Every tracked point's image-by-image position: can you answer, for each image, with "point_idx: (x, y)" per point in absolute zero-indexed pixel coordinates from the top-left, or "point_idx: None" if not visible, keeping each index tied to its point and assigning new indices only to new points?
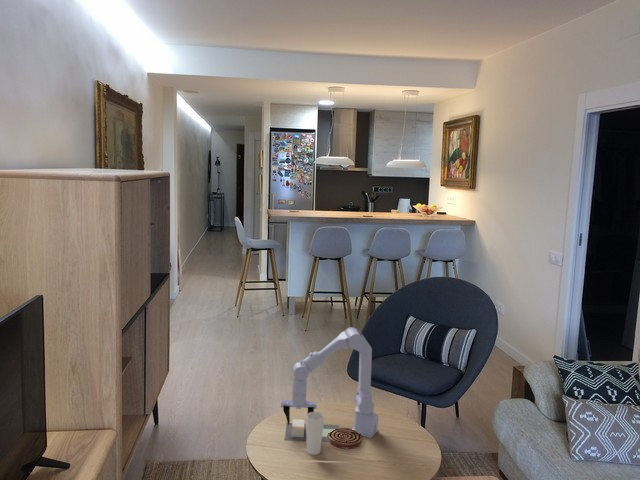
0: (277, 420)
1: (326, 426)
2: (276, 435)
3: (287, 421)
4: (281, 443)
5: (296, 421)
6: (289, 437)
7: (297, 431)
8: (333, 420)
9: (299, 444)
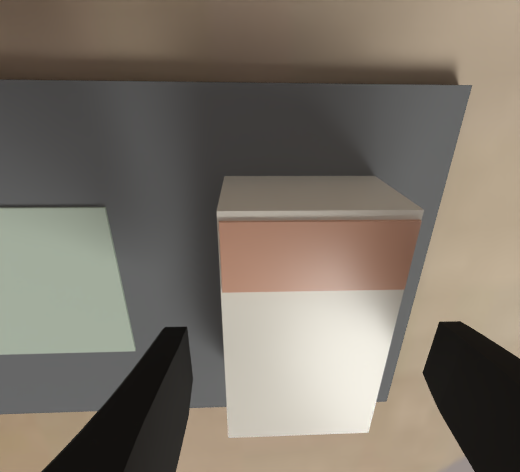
0: (444, 425)
1: (22, 388)
2: (515, 217)
3: (512, 354)
4: (507, 34)
5: (326, 399)
6: (397, 161)
7: (318, 199)
8: (9, 464)
9: (271, 20)
